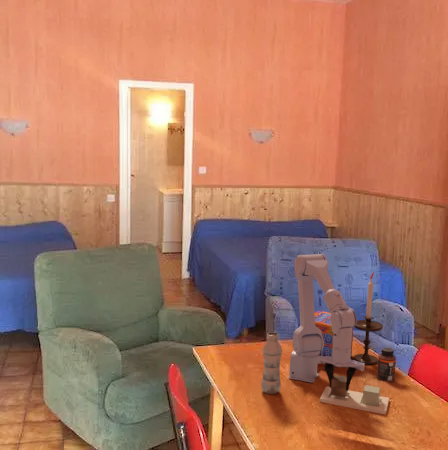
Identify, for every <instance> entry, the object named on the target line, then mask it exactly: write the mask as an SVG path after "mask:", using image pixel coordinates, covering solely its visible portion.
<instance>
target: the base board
mask: <svg viewBox="0 0 448 450" xmlns="http://www.w3.org/2000/svg"><path fill="white" fill-rule="evenodd" d="M319 402H320V403H323V404H329V405H335V406H340V407H344V408H345V407H346V408H350V409H355V410H361V411H365V412H369V413H370V412H372V413H375V414H376V413H377V414H382V415H386V414H387V411H388V407H389V403H390V397H387V396H381V395H380V397H379V405H378V407H376V406H371V405H366V404H363V392H360V391H355V390H354V391H353V390H348V392H347V394H346V397H339V396H334V395H331V388H330V386H325V388H324V390H323V392H322V394H321V396H320V398H319Z"/></svg>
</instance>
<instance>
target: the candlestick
mask: <svg viewBox="0 0 448 450" xmlns="http://www.w3.org/2000/svg"><path fill="white" fill-rule="evenodd" d="M373 277H374V271H372V273H371V275H370V277H369V279H370V280H369V282H367V283H368V284H367V296H366V297H367V298H366V311H365V313H366V314H365V315H364V316H363V317H362V318H363V319H357V323H356V325H355V326H354V327H353V328H355V329H357V330H360V331H364V332H365V338H364V340H363V344H364V345H363V347H362V348H363V349H364V351H363V353H357V354H355V355H353V360H354V361H358V362H361V363H365V366H373V365H378V357H376V356H374V355H372V354H369V350H370V348H371V347H370V344H371V343H372V342H371V340H370V332H371V333H372V332H380V331H381V332H382V330H383V327H384V326H383V324H382V323H381V322H378V321H374V319H375V317H374V316H372V307H373V293H374V283H373Z"/></svg>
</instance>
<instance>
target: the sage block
mask: <svg viewBox="0 0 448 450" xmlns="http://www.w3.org/2000/svg"><path fill="white" fill-rule="evenodd" d="M362 393H363V404H366V405H371V406H376V407H378V405H379V397H380V396H381V395H380V394H381V387H377V386H373V385H367V384H366V385H364V389H363V391H362Z"/></svg>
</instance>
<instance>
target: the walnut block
mask: <svg viewBox="0 0 448 450" xmlns="http://www.w3.org/2000/svg"><path fill="white" fill-rule="evenodd" d="M346 382H347V376H343V375H339V374H338V375H337V374H334V376H333V378H332V383H331V395H334V396H339V397H346V394H347V392H348V391H346Z"/></svg>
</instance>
